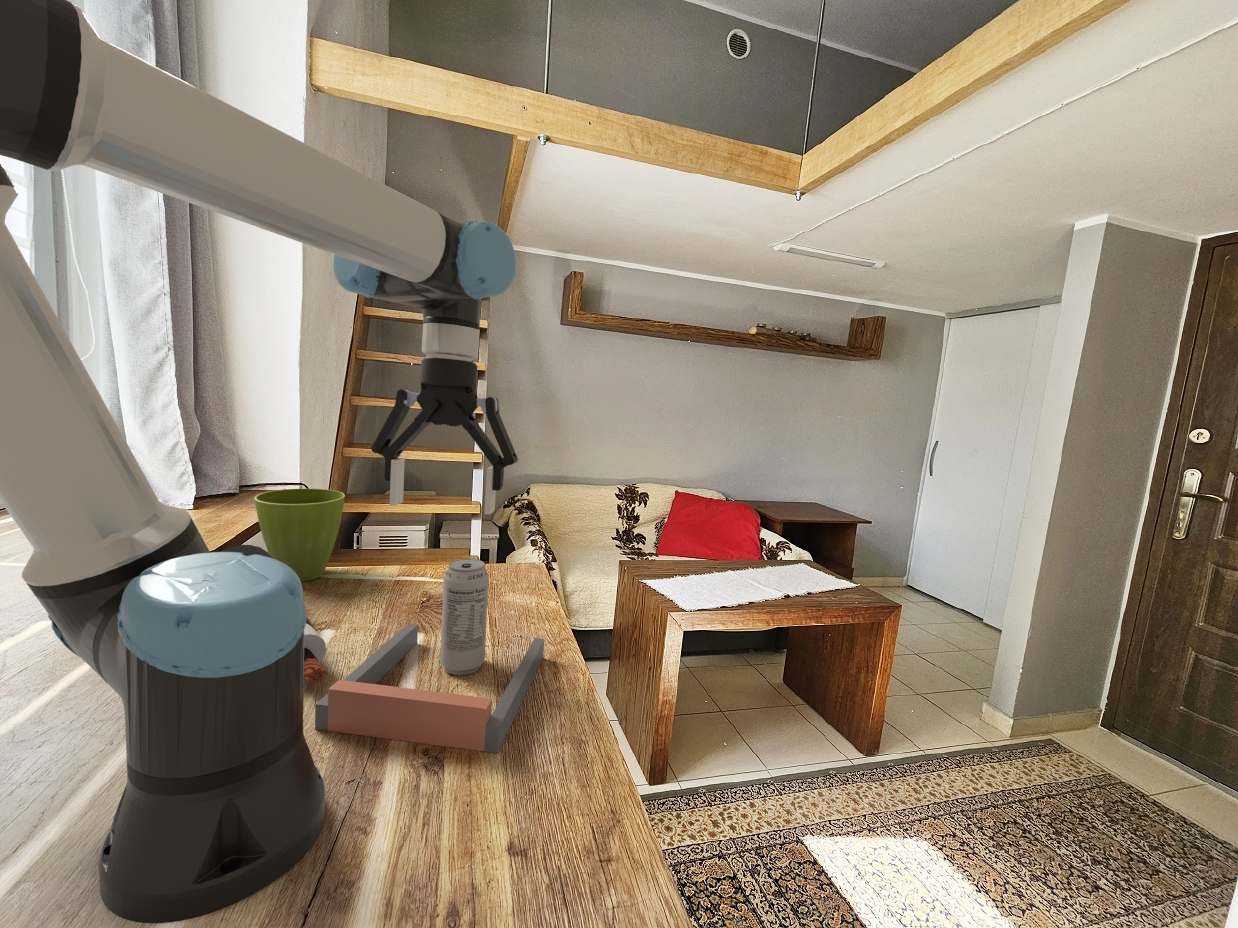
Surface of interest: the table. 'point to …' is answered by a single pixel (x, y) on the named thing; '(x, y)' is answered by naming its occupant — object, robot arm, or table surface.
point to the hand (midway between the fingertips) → (442, 508)
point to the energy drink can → (464, 616)
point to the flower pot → (300, 527)
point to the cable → (312, 639)
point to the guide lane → (421, 703)
